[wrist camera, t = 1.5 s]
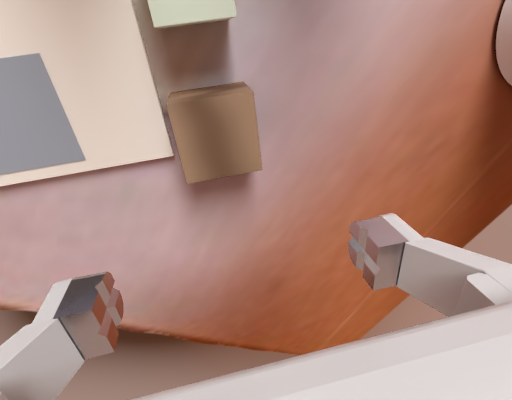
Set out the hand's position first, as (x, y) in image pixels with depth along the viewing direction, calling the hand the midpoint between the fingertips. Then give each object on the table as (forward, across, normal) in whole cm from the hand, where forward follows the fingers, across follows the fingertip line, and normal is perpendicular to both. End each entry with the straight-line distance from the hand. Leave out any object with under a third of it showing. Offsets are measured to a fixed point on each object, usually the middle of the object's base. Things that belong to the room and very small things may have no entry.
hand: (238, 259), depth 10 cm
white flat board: (+18, +12, -5) cm, 23 cm away
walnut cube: (+18, -1, 0) cm, 19 cm away
